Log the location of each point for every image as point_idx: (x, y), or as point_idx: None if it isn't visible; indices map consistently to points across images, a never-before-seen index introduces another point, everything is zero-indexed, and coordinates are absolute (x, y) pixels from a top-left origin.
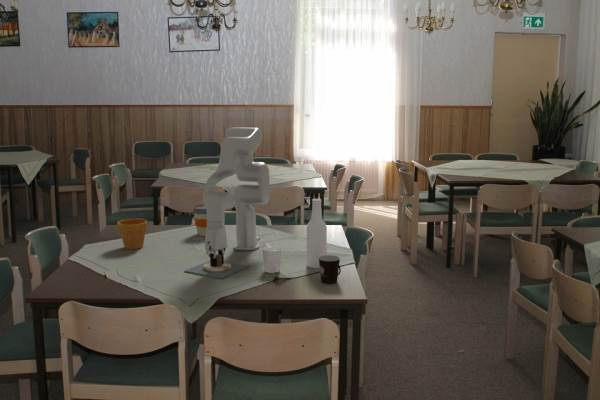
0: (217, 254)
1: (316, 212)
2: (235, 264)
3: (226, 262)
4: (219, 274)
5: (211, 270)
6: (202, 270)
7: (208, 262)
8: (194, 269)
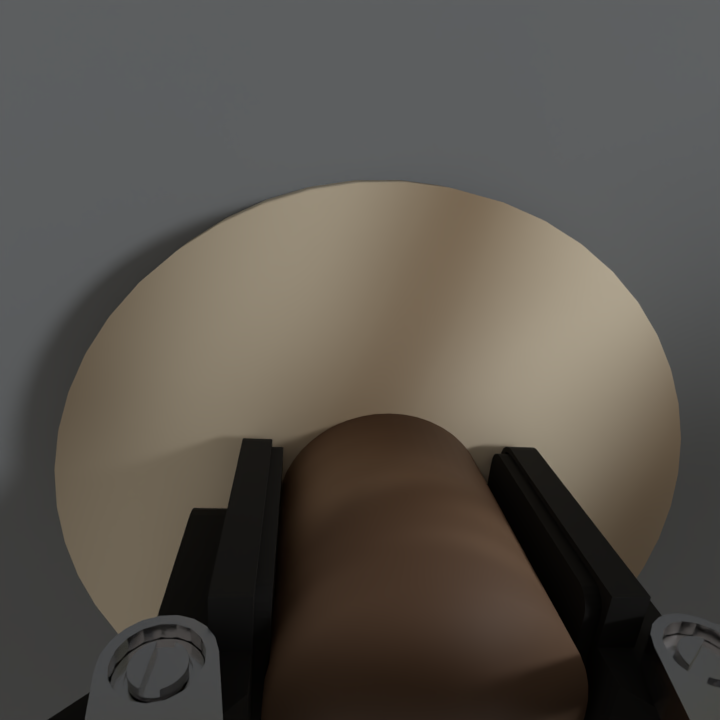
0: (569, 662)
1: None
2: (688, 606)
3: (643, 542)
4: (68, 701)
5: (82, 550)
6: (66, 308)
7: (703, 38)
8: (5, 62)
